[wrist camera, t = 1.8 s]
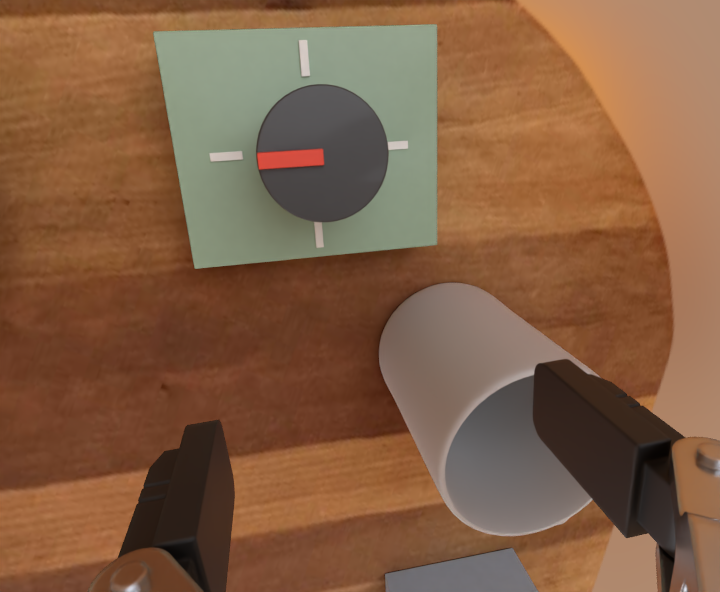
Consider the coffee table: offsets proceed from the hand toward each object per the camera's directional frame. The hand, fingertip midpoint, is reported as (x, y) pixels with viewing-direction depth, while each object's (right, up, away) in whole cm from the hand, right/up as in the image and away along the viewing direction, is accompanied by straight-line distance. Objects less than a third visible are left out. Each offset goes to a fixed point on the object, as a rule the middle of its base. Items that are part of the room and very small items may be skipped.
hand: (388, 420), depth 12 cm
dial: (-3, +10, +10) cm, 14 cm away
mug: (+5, -1, +19) cm, 20 cm away
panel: (-3, +11, +13) cm, 17 cm away
